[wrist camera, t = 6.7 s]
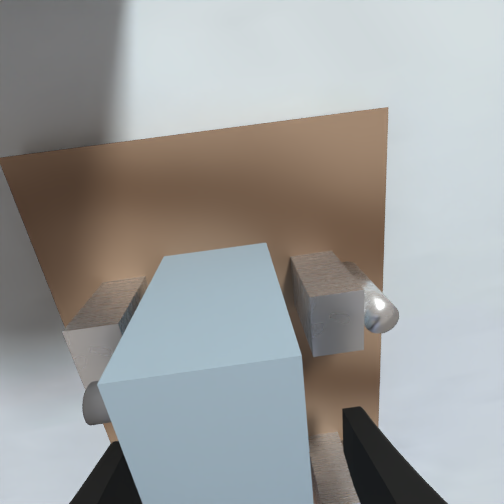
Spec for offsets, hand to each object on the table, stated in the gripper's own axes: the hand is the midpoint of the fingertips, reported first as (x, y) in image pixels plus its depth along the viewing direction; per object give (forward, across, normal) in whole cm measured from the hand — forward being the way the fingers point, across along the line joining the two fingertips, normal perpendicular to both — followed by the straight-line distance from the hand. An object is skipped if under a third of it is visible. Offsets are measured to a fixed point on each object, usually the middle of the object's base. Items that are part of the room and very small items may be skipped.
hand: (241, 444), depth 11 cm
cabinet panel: (+4, 0, 0) cm, 4 cm away
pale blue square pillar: (+3, 0, 0) cm, 3 cm away
